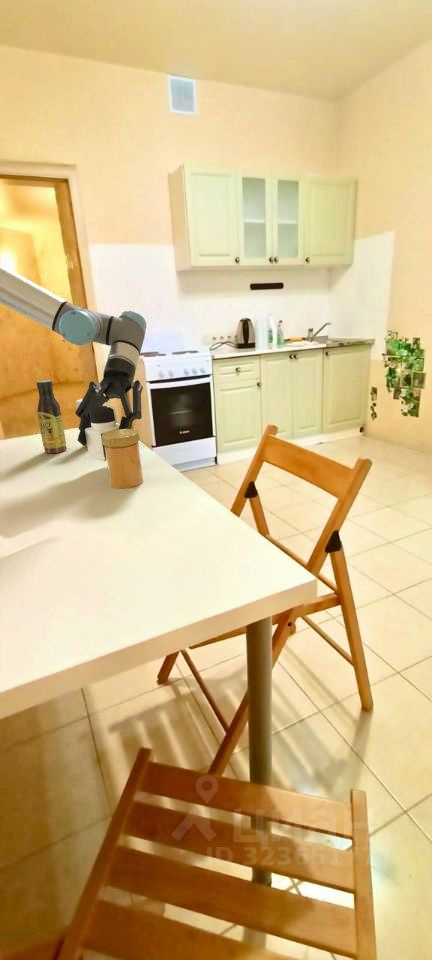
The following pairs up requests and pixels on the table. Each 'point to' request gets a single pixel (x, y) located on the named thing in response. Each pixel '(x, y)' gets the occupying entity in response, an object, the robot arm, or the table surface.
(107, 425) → the medicine bottle
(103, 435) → the lid
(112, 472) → the jar
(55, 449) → the sauce bottle
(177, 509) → the table surface
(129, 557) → the table surface
